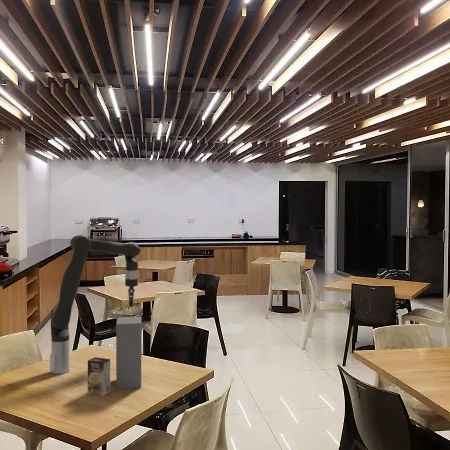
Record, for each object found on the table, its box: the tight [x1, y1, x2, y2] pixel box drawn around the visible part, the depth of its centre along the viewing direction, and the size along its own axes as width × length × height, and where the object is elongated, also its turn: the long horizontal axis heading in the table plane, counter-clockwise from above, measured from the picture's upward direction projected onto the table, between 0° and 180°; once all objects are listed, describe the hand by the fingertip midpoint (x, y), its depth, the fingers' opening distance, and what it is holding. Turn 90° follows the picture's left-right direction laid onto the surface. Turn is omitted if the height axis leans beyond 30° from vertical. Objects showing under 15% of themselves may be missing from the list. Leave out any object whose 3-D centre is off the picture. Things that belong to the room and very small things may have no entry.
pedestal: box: [115, 316, 142, 390], centre depth 243 cm, size 16×12×32 cm
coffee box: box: [87, 356, 111, 397], centre depth 229 cm, size 9×6×16 cm
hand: (130, 305), depth 283 cm, fingers open, 8 cm apart
